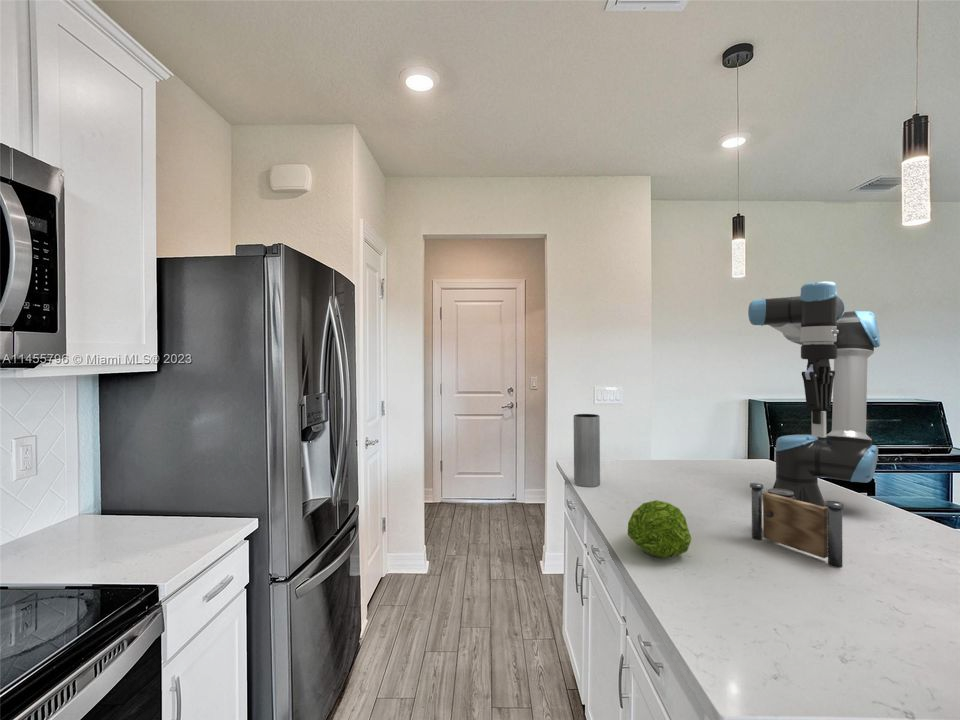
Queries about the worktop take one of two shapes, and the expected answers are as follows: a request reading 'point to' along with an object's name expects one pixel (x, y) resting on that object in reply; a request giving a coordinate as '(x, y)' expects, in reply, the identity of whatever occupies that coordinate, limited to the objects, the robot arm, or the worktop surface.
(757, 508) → the post
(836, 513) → the hinge post
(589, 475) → the vase
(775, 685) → the worktop surface
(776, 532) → the gate
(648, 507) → the lettuce
